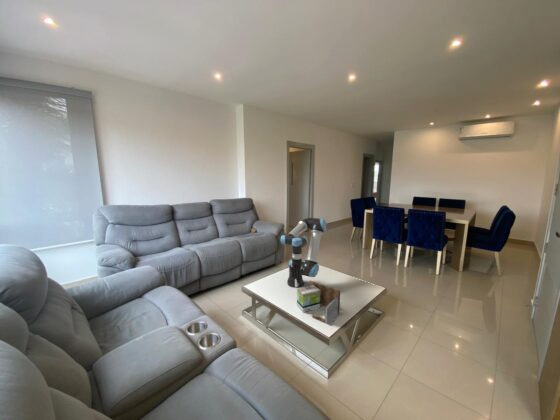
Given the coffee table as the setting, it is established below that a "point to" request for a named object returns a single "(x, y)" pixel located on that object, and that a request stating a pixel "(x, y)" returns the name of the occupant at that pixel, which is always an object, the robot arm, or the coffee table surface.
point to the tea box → (308, 298)
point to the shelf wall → (325, 297)
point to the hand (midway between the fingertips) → (296, 286)
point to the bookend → (332, 311)
